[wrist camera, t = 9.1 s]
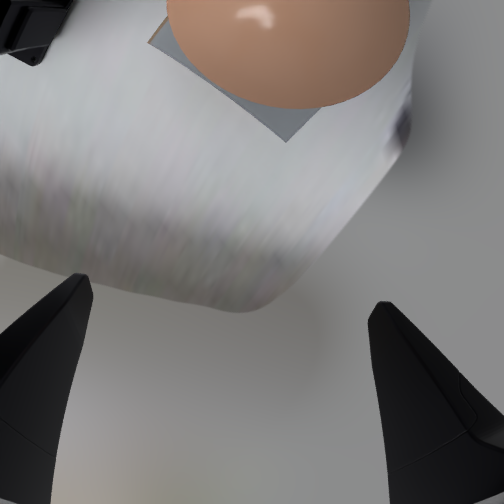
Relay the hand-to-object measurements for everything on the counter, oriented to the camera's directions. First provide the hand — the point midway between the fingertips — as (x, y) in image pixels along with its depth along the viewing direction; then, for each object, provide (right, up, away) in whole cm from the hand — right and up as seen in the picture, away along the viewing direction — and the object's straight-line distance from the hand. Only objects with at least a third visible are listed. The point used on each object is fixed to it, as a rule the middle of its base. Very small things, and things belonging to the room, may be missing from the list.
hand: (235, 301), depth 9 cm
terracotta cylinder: (+1, +9, -1) cm, 10 cm away
